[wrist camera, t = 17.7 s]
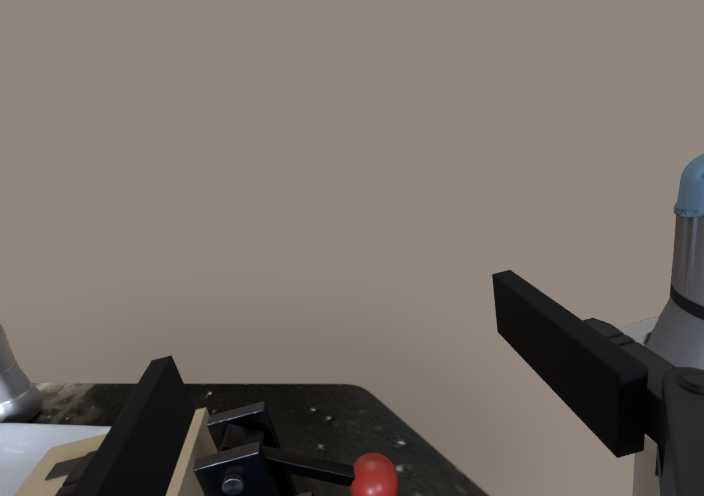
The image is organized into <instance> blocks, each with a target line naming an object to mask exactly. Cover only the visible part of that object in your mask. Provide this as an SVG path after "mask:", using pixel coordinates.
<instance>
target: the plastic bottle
mask: <svg viewBox="0 0 704 496" xmlns="http://www.w3.org/2000/svg"><path fill="white" fill-rule="evenodd" d="M42 405H43V398H42V395H41V393H40V391H39V390H38V389H37V388H36V386H35V385H34V384H32V383H31V382H30V381H29V380H28V378H27V377H26V375H25V374H24V373H23V371H22V370H21V369H20V367H19V366H18V364H17V362H16V360H15V358H14V355H13V353H12V351H11V349H10V346H9V343H8V340H7V337H6V334H5V331H4V329H3V327H2V325H0V423H26V422H27V421H29V420H31V419H32V418H33V417H34V416H36V415H37V414H38V413H39V412H40V410H41V409H42Z"/></svg>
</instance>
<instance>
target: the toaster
mask: <svg viewBox="0 0 704 496" xmlns="http://www.w3.org/2000/svg"><path fill="white" fill-rule="evenodd" d="M208 418H209V414H208V411H207V409H206V408H202V409H198V410H195V414H194V417H193V420H192V423H191V425H190V428H189V431H188V434H187V437H186V440H185V442H184V445H183V448H182V451H181V454H180V457H179V459H178V462H177V465H176V468H175V471H174V474H173V476H172V479H171V482H170V485H169V488H168V491H167V493H166V496H205V495H204V493H203V491H202V489H201V486H200V484H199V482H198V480H197V478H196V476H195V473H194V471H193V468H194V465H195V462H196V459H197V458H199V457H203V456H206V455H210V454H214V453H217V449H216V446H215V444H214V442H213V439H212V437H211V435H210V432H209V430H208V428H207V421H208ZM106 435H107V433H106V434H102V435H98V436H94V437H90V438H87V439H83V440H79V441H75V442H71V443H67V444H64V445H60V446H56V447H52V448H50V449H49V450H48V451H47V453H46V454H45V455H44V456H43V458H42V459H41V460H40V462H39V463H38V464H37V466H36V467H35V468H34V470H33V471H32V472H31V474H30V475H29V476H28V478H27V479H26V480H25V481H24V483H23V484H22V485H21V487H20V488H19V489H18V491H17V492H16V493H15V495H14V496H55V495H56V493H57V492H58V490H59V488H61V487H62V484H63V482H64V481H65V479H66V478H67V476H68V475H69V473H70V472H71V470H72V468H73V467H74V466H75V465H76V464H77V463H78V462H79V461H80V460H81V459H82V458H83V457H84V456H85V455H86V454H87V453H88V452H92V451H95V450H98V448H99V446H100V445H101V443H102V441H103V440H104V438H105V436H106Z"/></svg>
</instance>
